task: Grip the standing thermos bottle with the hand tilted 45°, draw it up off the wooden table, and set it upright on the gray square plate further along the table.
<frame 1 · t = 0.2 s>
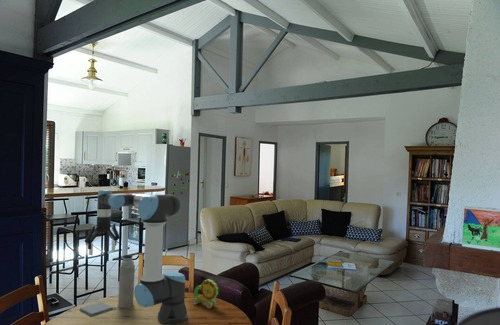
hand: (102, 253, 197), 28 cm above the table, tool pointing down, fingers open, 13 cm apart
toy lion: (205, 306, 195), on the table
thermos bottle: (125, 305, 192), on the table
gray square plate: (96, 309, 185), on the table
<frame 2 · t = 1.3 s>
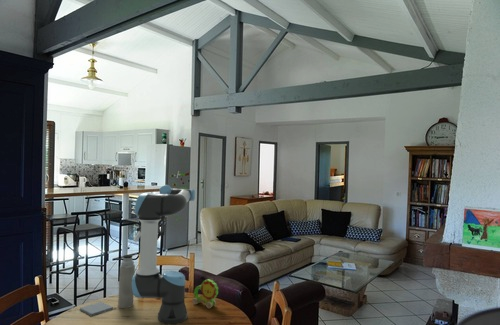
hand: (143, 242, 204), 33 cm above the table, tool tilted 45°, fingers open, 13 cm apart
nothing on the table moved.
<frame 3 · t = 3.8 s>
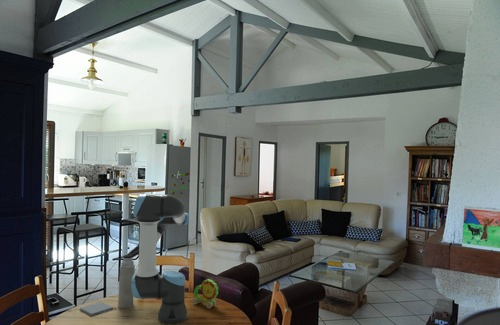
hand: (133, 269, 198), 19 cm above the table, tool tilted 45°, fingers open, 13 cm apart
nothing on the table moved.
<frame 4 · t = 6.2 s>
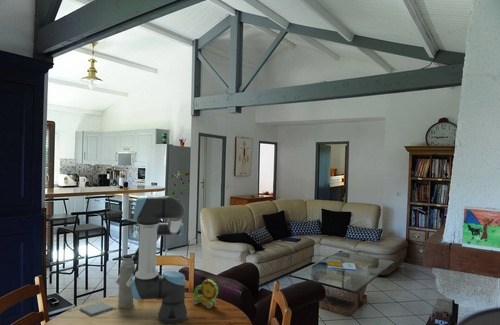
hand: (122, 284, 190), 13 cm above the table, tool tilted 45°, fingers closed on thermos bottle, 8 cm apart
thermos bottle: (125, 305, 192), on the table, touching gripper
everything else where it was.
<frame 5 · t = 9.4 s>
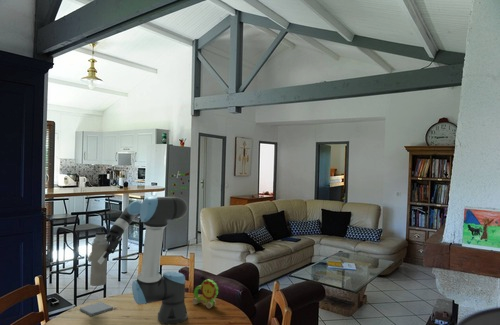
hand: (93, 261, 183), 27 cm above the table, tool tilted 45°, fingers closed on thermos bottle, 8 cm apart
thermos bottle: (98, 284, 185), point 14 cm above the table, touching gripper
everything else where it was.
when the fingers open (15 cm above the table, at t = 12.5 s): thermos bottle drops 1 cm, resting on gray square plate.
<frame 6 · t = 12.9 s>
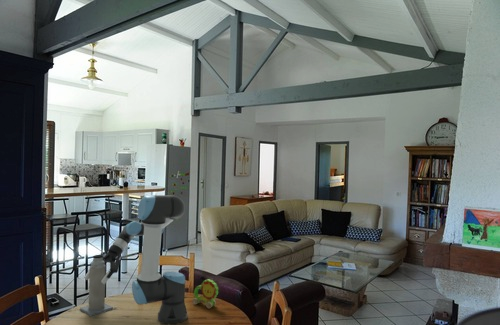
hand: (94, 281, 183), 16 cm above the table, tool tilted 45°, fingers open, 13 cm apart
thermos bottle: (96, 307, 185), point 1 cm above the table, touching gray square plate
everything else where it was.
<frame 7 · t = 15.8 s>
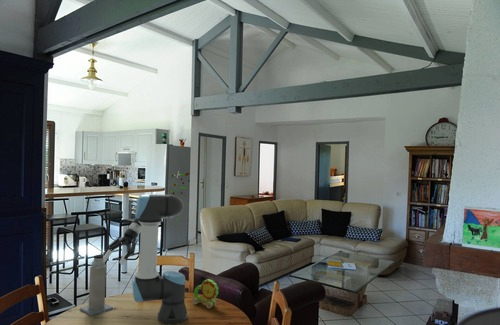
hand: (112, 262, 194), 24 cm above the table, tool tilted 45°, fingers open, 13 cm apart
nothing on the table moved.
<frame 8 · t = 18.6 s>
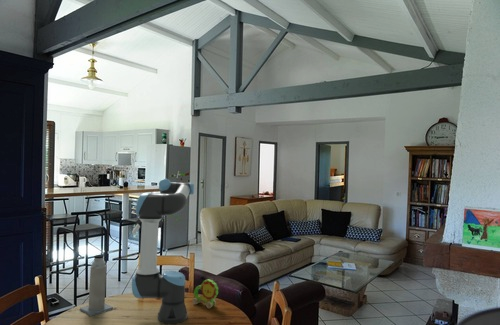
hand: (141, 234, 206), 38 cm above the table, tool tilted 45°, fingers open, 13 cm apart
nothing on the table moved.
at the end: thermos bottle inside the target area on the gray square plate (0.1 cm from its centre), point 1.0 cm above the gray square plate's base; thermos bottle tilted 0°; the gripper is holding nothing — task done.
